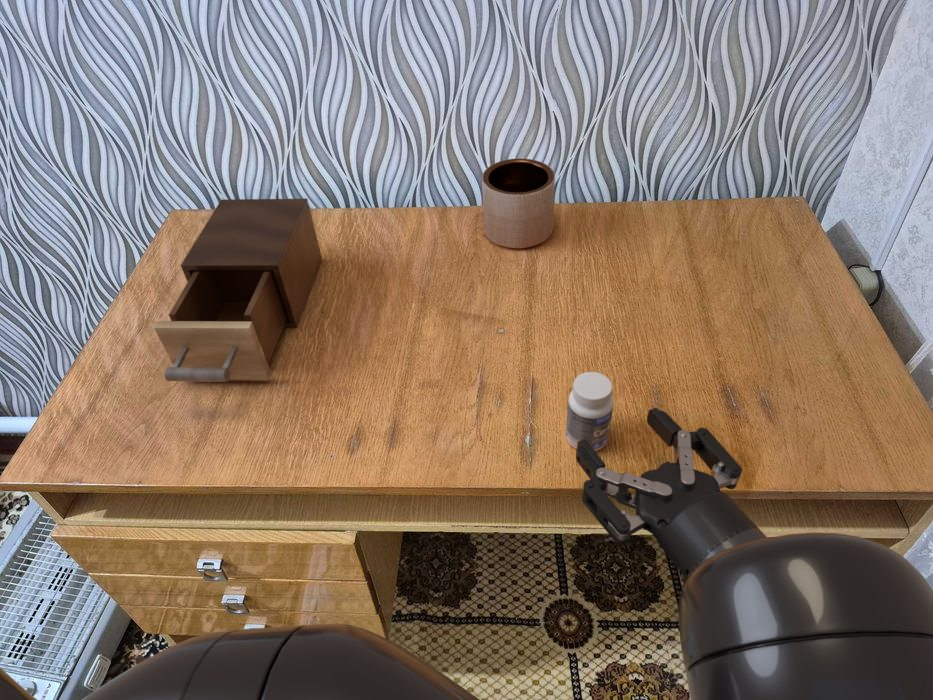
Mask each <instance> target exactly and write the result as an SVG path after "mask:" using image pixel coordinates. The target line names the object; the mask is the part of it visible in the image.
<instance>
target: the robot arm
mask: <svg viewBox="0 0 933 700" xmlns="http://www.w3.org/2000/svg"><path fill="white" fill-rule="evenodd" d="M646 423H647V424H648V426H649V427H650V428H651V429H652V430H653V431H654V432H655V433H656V434H657V435H658V437H659V438H660V439H661V440H662V441H663V443H665V445H666V446H667V447H668V448H670V447H672V446H673V462H670V461H669V460H667V461H665V462H664V463H661V464H660V465H659V466H658V467H657V468H654V469H650V470H649V469H648V470H647V471H645V472H643V473H641V474H640V476H638V475H636V474H634V473H633V474H632V473H630V472H623V473H620V472H617V471H615V470H612V469H609V468H606V463H605V462H604V461H603V459H602V458H601V457H600V455H599V454H598V453H597V451H595V450H594V449H593V448H592V447H591V445H590V444H589V443H588V442H587V441H586V440H585V439H583V440H581V441H579V442H578V443H577V449H576V450H575V459H576V463H577V464H578V465H579V466H580V468H581V469H582V470H583V472H584V473H585V474H586V476H587V477H588V478H589V479H587V480H585V481H584V482H583V486H582V488H583V490H582V495H581V502H582V503H583V505H584V506H585V507H586V508H587V510H588V511H589V512H590V513H591V514H592V515H593V516H594V518H595V519H596V520H597V522H598V523H599V524H600V526H601V527H603V529H604V530H605V531H606V532H607V534H608V535H609V536H610V537H611V538H612V540H613V541H614V542H615V543H616V544H617V545H620V546H623V545H625V544H627V543H628V540H629V537H630V536H632V535H633V534H635V533H637V532H639V531H640V530H642V529H643V530H645V531H647V532H649V533H650V534H651V535H652V536H653V537H654V538H655V539H656V541H657V543H658V545H659V546H660V548H661V550H663V552H664V553H665V554H666V555H667V557H668V558H669V559H670V560H671V562H672V564H674V566H675V567H676V568H677V570H678V571H679V572H680V573H681V574H682V576H683V577H684V579H686V580H685V582H684V583H683V587H682V589H681V593H680V595H679V596H680V597H679V599H678V610H677V611H678V612H677V613H678V629H679V630H678V631H679V639H680V640H679V641H680V649H681V655H682V662H683V665H684V666H683V667H684V671H685V676H686V682H687V686H688V692H689V696H690V697H689V698H690V700H933V589H932V587H931V586H930V584H929V583H928V581H927V579H926V578H925V577H924V576H923V574H922V573H921V572H920V571H919V569H917V568H916V567H915V566H914V565H913V564H912V563H911V562H910V561H909V560H908V559H907V558H905V557H904V556H903V555H901V554H900V553H898V552H896V551H895V550H893V549H891V548H889V547H887V546H886V545H884V544H882V543H880V542H878V541H877V542H876V541H873V540H871V539H867V538H864V537H861V536H857V535H852V534H844V533H838V532H802V533H801V532H800V533H788V534H781V535H777V536H770V537H768V536H766V534H765V533H764V532H763V531H762V530H761V528H759V527H758V525H756V524H755V522H754V521H752V519H751V518H750V517H749V516H748V515H747V514H746V513H745V511H744V510H742V508H741V507H739V505H738V504H737V503H736V502H735V501H734V500H733V499H732V497H731V496H730V495H728V493H726V492H724V491H722V490H721V489H724V488H726V489H728V490H734V489H735V488H737V485H738V482H739V480H740V478H741V475H742V473H743V467H742V466H741V465H740V464H739V463H738V462H737V461H736V460H735V458H734V457H733V456H732V455H731V453H729V452H728V451H727V449H726V448H725V447H724V445H722V444H721V443H720V442H719V440H718V439H717V438H716V437H715V436H714V435H713V433H711V432H710V430H709V429H708V428H706V427H699V428H697V430H695V431H688V430H686V429H683V428H682V427H681V426H680V425H679V424H678V423H677V422H676V421H675V420H674V419H673V418H672V417H671V416H670V415H669V414H668V413H667V412H666V411H664V410H660V409H659V408H657V407H653V408H651V409H649V410H648V412H647V416H646ZM693 452H695V453H696V454H697V456H698V457H699V458H700V459H701V460H702V462H703V463H704V464H705V465H706V466H707V467H708V469H709V470H710V474H709V473H706V472H703V471H701V470H697V469H695V467H694V453H693ZM630 490H633V491H635V493H633V492H631V491H630ZM610 498H613V499H615V500H616V502H617V503H618V504H621V505H623V506H625V507H628V508H630V509H631V508H632V509H634V510H635V515H632V514H629V513H628V512H627V510H625V509H622V510H621V509H619V508H618V507H617V505H616V504H615V503H614V501H613V500H612V499H610ZM0 700H38V698H36V697H35V696H33V695H32V694H31V693H30V692H29V691H27V690H26V688H24V687H23V686H22V685H21V684H19V683H18V682H17V681H16V680H15V679H14V678H13V677H12V676H11V675H10V674H8V673H7V672H6V671H5V670H4V669H2V667H0ZM81 700H481V699H480V698H479V697H477V696H476V695H475V694H473V693H472V692H470V691H469V690H468V689H466V688H464V687H463V686H461V685H460V684H459V683H457V682H456V681H455V680H454V679H451V678H450V677H448V676H447V675H446V674H444V673H443V672H442V671H440V670H438V669H437V668H436V667H434V666H433V665H431V664H430V663H429V662H427V661H425V660H424V659H422V658H421V657H419V656H417V654H416V655H415V654H414V653H412V652H411V651H409V650H407V649H406V648H404V647H403V646H401V645H400V644H398V643H396V642H394V641H392V640H390V639H388V638H387V637H384V636H382V635H379V634H378V633H375V632H373V631H371V630H368V629H366V628H363V627H359V626H356V625H352V624H347V623H337V622H336V623H317V624H316V623H315V624H314V623H313V624H300V625H288V626H287V625H286V626H272V627H271V626H270V627H269V626H268V627H257V628H243V629H231V630H230V629H229V630H223V631H222V630H221V631H215V632H211V633H210V632H209V633H204V634H202V635H197V636H193V637H190V638H188V639H185V640H182V641H181V642H178V643H176V644H174V645H172V646H170V647H168V648H166V649H164V650H162V651H160V652H157V653H156V654H154V655H151V656H150V657H148V658H146V659H144V660H143V661H140V662H139V663H137V664H135V665H134V666H131V667H130V668H129V669H127V670H125V671H124V672H122V673H120V674H119V675H117V676H116V677H113V678H111V679H110V680H109V681H107V682H106V683H104V684H103V685H101V686H100V687H98V688H96V689H95V690H94V691H93V692H90V693H89V694H88V695H86V696H85V697H84V698H82V699H81Z"/></svg>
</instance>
